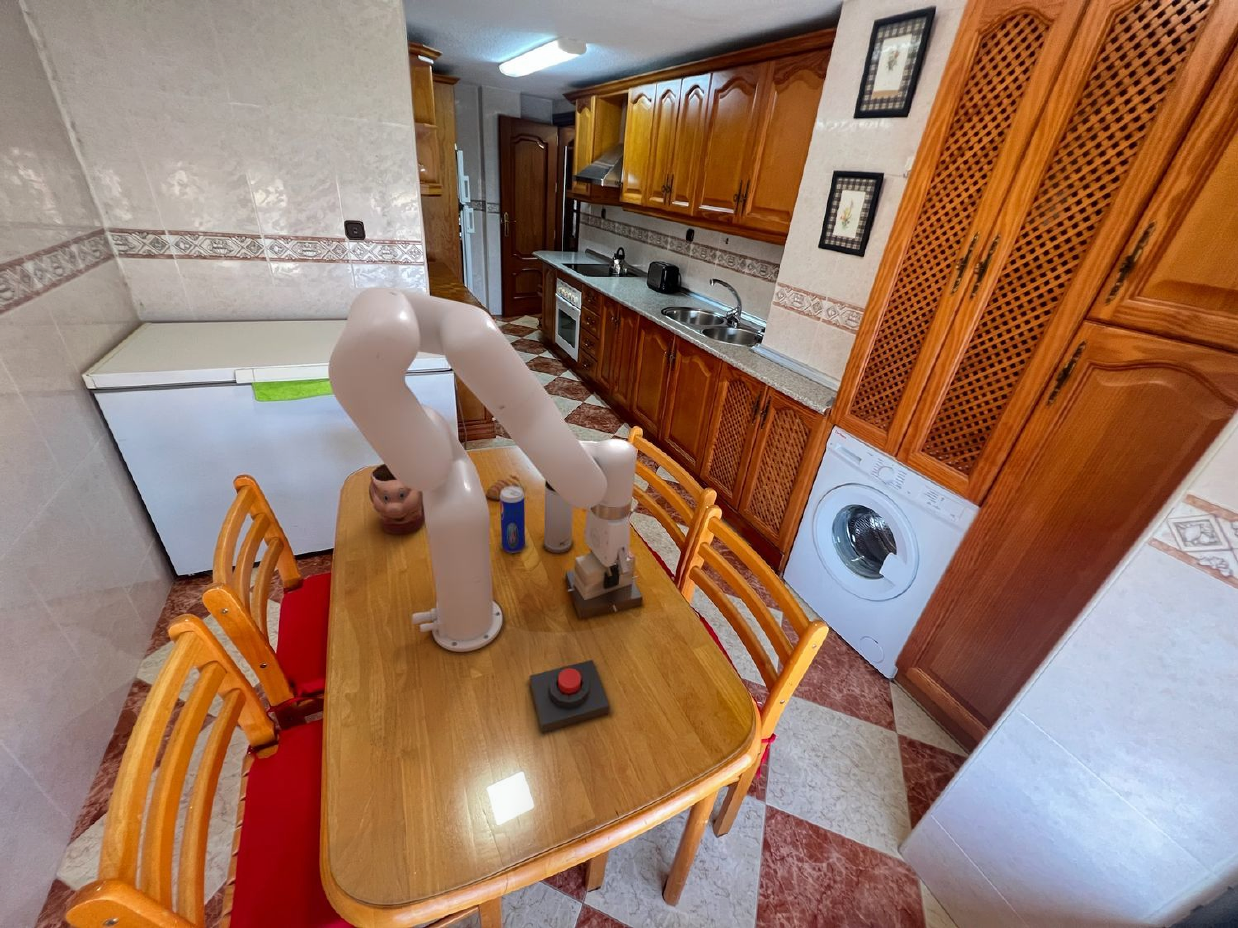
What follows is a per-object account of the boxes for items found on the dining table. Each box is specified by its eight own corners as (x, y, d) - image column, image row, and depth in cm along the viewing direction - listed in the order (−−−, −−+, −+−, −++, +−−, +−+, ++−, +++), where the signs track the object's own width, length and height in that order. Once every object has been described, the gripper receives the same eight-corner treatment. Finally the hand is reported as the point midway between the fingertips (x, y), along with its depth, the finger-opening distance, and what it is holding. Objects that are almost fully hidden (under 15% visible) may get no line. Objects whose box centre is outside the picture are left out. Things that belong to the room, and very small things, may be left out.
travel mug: (568, 556, 111) (571, 481, 101) (540, 550, 112) (541, 476, 102) (576, 539, 117) (580, 466, 107) (549, 533, 118) (550, 461, 107)
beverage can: (497, 549, 111) (494, 494, 104) (510, 536, 116) (508, 482, 108) (517, 556, 110) (515, 501, 102) (529, 543, 114) (528, 489, 106)
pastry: (497, 505, 125) (496, 493, 124) (481, 494, 129) (480, 482, 127) (526, 491, 132) (525, 479, 130) (509, 481, 135) (509, 469, 134)
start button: (561, 697, 78) (561, 690, 77) (555, 678, 81) (555, 671, 80) (583, 691, 79) (583, 684, 78) (576, 672, 82) (577, 665, 81)
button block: (541, 733, 76) (541, 718, 74) (529, 683, 83) (529, 668, 81) (608, 713, 80) (610, 698, 78) (592, 667, 87) (593, 652, 85)
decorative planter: (374, 499, 123) (365, 450, 116) (426, 491, 128) (420, 444, 121) (375, 549, 108) (364, 497, 101) (435, 539, 113) (428, 488, 106)
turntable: (577, 628, 94) (578, 619, 93) (557, 574, 106) (558, 565, 105) (650, 612, 99) (651, 602, 98) (623, 562, 111) (624, 553, 110)
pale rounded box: (584, 600, 97) (586, 572, 93) (573, 583, 101) (575, 556, 97) (632, 583, 102) (636, 556, 99) (620, 568, 106) (623, 542, 102)
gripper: (572, 484, 96) (569, 556, 105) (616, 536, 83) (608, 612, 93) (606, 476, 99) (600, 546, 108) (653, 525, 87) (641, 599, 96)
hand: (604, 576), depth 100 cm, fingers closed on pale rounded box, 5 cm apart
